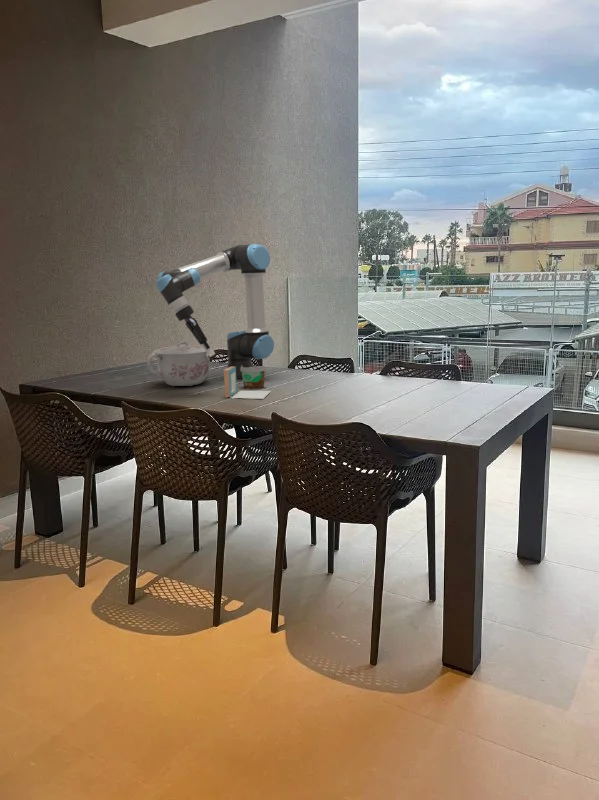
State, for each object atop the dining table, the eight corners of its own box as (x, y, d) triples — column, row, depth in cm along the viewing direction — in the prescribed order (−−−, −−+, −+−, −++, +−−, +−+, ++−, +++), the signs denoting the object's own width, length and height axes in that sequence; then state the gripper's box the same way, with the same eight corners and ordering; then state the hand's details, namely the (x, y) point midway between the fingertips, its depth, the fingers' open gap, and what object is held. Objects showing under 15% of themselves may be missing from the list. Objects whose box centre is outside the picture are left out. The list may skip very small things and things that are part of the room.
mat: (240, 391, 286) (240, 390, 286) (271, 392, 284) (271, 390, 283) (230, 399, 270) (230, 398, 270) (263, 399, 268) (263, 398, 268)
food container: (236, 389, 293) (235, 367, 291) (242, 386, 299) (241, 365, 297) (261, 390, 289) (260, 368, 287) (266, 387, 295) (265, 365, 293)
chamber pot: (219, 379, 320) (217, 337, 315) (206, 389, 293) (203, 344, 289) (164, 379, 322) (161, 338, 318) (146, 390, 296) (143, 345, 291)
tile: (231, 393, 284) (230, 366, 281) (237, 393, 283) (235, 366, 281) (225, 397, 274) (223, 370, 271) (231, 398, 274) (229, 370, 271)
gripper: (172, 315, 280) (203, 361, 284) (176, 311, 268) (207, 358, 271) (187, 306, 282) (217, 352, 286) (191, 302, 270) (222, 349, 273)
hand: (212, 355), depth 278 cm, fingers closed
